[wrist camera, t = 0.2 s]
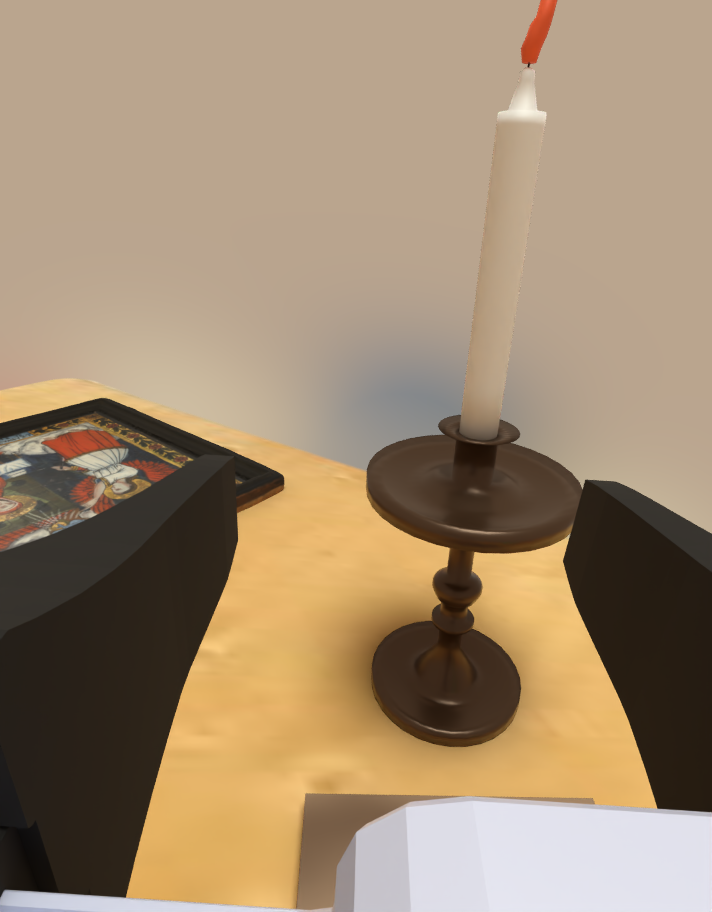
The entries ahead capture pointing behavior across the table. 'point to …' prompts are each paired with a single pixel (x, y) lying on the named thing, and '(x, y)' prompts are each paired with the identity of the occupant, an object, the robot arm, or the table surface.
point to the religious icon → (98, 466)
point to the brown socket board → (348, 836)
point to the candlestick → (474, 473)
